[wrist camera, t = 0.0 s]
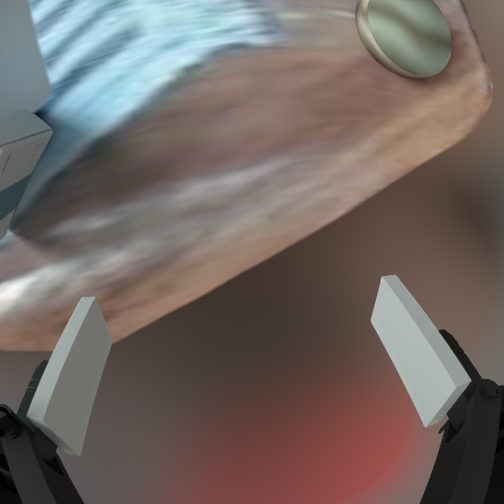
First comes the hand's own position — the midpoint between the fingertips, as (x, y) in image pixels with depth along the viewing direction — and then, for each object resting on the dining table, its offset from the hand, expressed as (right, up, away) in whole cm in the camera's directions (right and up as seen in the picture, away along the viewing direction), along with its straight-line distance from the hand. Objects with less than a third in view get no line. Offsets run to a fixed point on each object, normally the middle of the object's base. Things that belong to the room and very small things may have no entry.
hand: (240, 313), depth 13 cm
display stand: (+21, +34, +16) cm, 43 cm away
